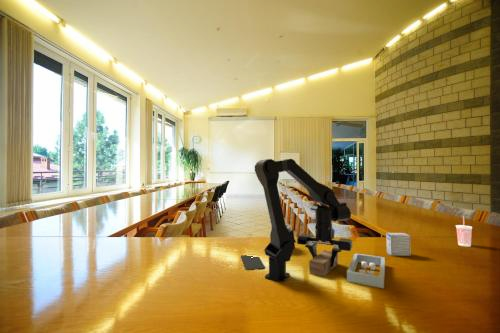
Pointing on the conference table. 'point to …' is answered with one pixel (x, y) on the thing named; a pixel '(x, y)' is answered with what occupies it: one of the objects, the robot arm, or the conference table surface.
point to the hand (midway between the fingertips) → (324, 265)
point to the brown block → (322, 263)
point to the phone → (252, 262)
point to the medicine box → (398, 244)
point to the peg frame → (369, 277)
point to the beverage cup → (464, 234)
